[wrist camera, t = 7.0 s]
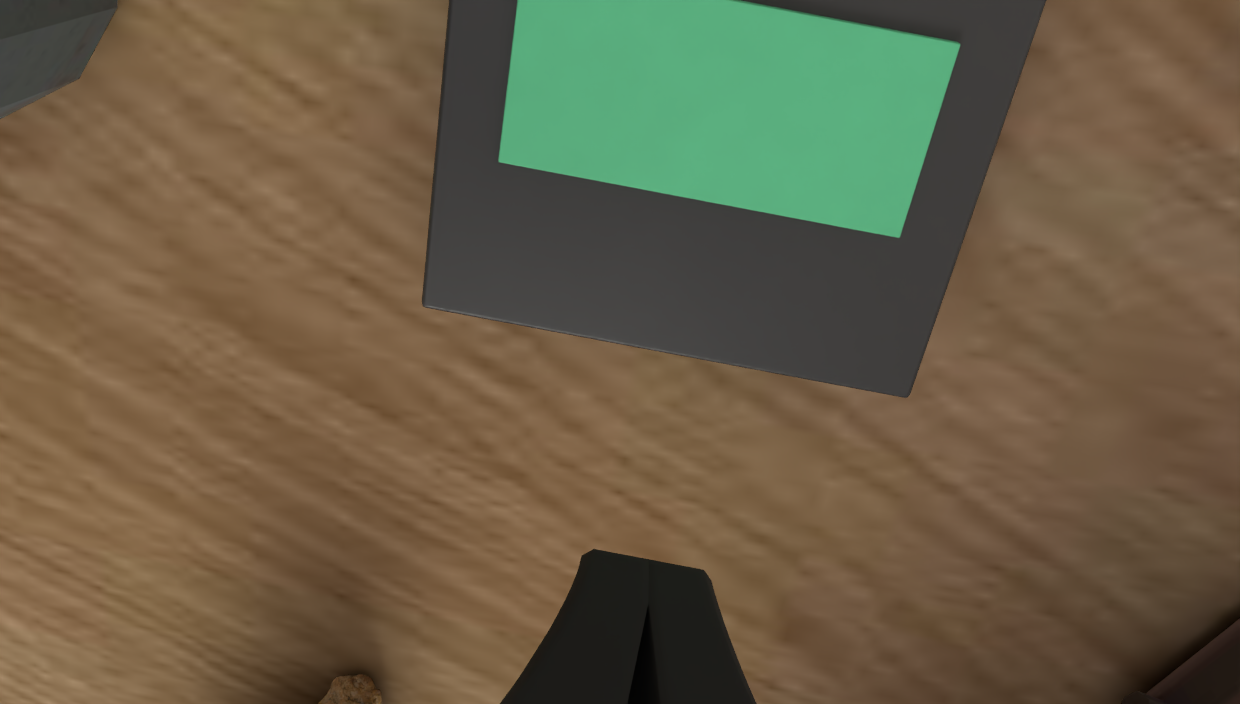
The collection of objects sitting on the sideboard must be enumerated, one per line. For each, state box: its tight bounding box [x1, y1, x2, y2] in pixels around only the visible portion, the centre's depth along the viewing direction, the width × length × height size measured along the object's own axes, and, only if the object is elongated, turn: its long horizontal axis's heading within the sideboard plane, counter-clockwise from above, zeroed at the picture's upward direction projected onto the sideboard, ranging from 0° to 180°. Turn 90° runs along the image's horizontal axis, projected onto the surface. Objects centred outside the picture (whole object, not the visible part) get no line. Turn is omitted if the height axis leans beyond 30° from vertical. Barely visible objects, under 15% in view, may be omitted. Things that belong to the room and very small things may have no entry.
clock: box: [422, 0, 1046, 398], centre depth 18 cm, size 3×9×8 cm
